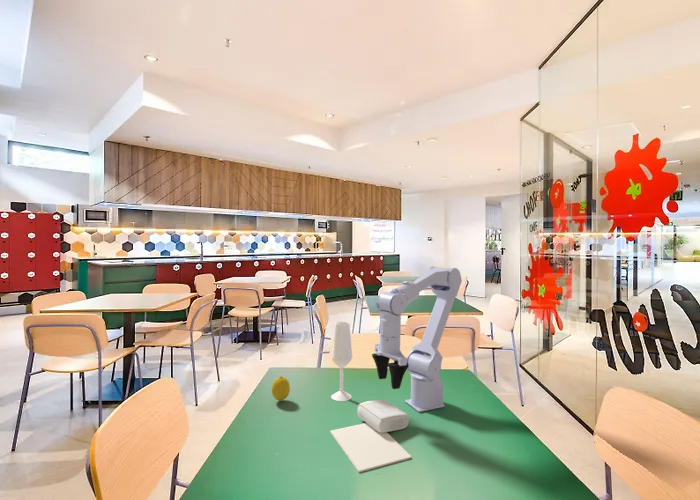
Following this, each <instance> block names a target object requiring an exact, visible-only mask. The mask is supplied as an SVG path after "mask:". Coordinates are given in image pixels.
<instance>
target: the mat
mask: <svg viewBox="0 0 700 500" xmlns="http://www.w3.org/2000/svg"><path fill="white" fill-rule="evenodd" d="M329 433H330V435H332V437H333V438H334V440H335V441H336V443H337V444H338V445H339V447H340V448H341V450H342V452H343V453H344V454H345V456H346V457H347V458H348V459H349V461H350V462H351V464H352V465H353V467H354V468H355V469H356V471H357V472H358V473H363V472H365V471H371V470H373V469H376V468H380V467H384V466H388V465H391V464H392V465H393V464H397V463H399V462H402V461H403V462H404V461H406V460H410V459H412V455H411V454H410V453H408V451H406V449H405V448H403V446H401V444H400V443H399V442H398V441H396V440H395V438H394V437H392V436H391V435H390V433H388V432H378V431H377V430H375V429H374V428H373V427H371V426H370V425H369V424H367V423H366V422H365V423H360V424H355V425H354V424H353V425H351V426H346V427H341V428H335V429H331V430H329Z"/></svg>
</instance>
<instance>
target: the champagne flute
mask: <svg viewBox="0 0 700 500" xmlns="http://www.w3.org/2000/svg"><path fill="white" fill-rule="evenodd" d="M351 339H352V337H351V326H350V322H349V321H335V323H334V328H333V339H332V348H331V360H332V362H334V364H335V365H336V366H337V367H339V390H338V391H336V392H335V393H333V394H331V396H330V398H331V399H332V400H333V401H337V402H348V401H349V400H351V399H352V395H351V394H350V393H348V392H347V391H345V390H344V367H346V366H347V365H349V363H350V362H351V361H352V359H353V353H352V352H353V351H352V340H351Z"/></svg>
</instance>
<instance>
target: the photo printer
mask: <svg viewBox="0 0 700 500" xmlns="http://www.w3.org/2000/svg"><path fill="white" fill-rule="evenodd" d="M356 413H357V416H358V417H359V418H360V419H361V420H362V421H363V422H365V423H367V424H369V425H370V426H371V427H373V428H374V429H375V430H377V431H378V432H387V433H388V432H395V431H400V430H403V429H405V428H407V427H408V425H409V423H410V417H409V415H408V413H406V412H405V411H404V410H401V409H400V408H398V407H397V406H396V405H393V404H392V403H390V402H389V401H387V400H383V399H375V400H374V399H373V400H368V401H364V402H361V403H359V404H358V405H357V406H356Z"/></svg>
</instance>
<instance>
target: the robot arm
mask: <svg viewBox="0 0 700 500" xmlns="http://www.w3.org/2000/svg"><path fill="white" fill-rule="evenodd" d="M462 282H463V279H462V275H461V272H460V270H459V269H458V268H457V267H452V268H451V267H441V266H440V267H439V266H433V265H432V266H430V267H429V268H427V269H426V270H425V272H424V273H423V274H422V275H420V277H418V278H417V279H415V280H414V281H411V280H410V281H409V280H404V281H402V284H401V285H399V286H397V287H393V288H392V289H391V290H390V291H389V292H387V291H385V292H383V293H381V294H380V295H379V296H378V298H377V301H376V302H375V305H376V308H377V310H378V316H379V319H380V321H379V322H380V323H379V324H380V325H379V328H380V329H379V343H377V344H374V352H375V353H372V354H371V356H372V359H373V361H374V363H375V367H376V370H377V376H378V379H379V380H385V379H387V376H388V370H389V374H390V381H391V383H390V384H391V385H390V386H391V388H392V389H393V390H398V389H400V388H401V385H402V381H403V378H404V375H405V373H406V371H408V373H409V374H408V375H410V398H409V399H405V403H406V404H408V405H409V406H410V407H412V408H413V409H414V410H416V411H417V412H419V413H421V412H426V411H431V410H436V409H441V408H444V407H445V404H444V383H443V380H442V378H441V376H440V373H441V370H442V362H443V359H444V358H443V356H442V354H441V352H440V351H439V350H438V348H439V345H440V342H441V339H442V336H443V334H444V331H445V328H446V325H447V322H448V319H449V317H450V313H451V311H452V308H453V305H454V303H455V298H456V297H457V296H458V293H459V291H460V288H461V285H462ZM427 288H430V289H431V291H432V293H433V295H435V296H436V300H435V303H434V305H433V308H432V311H431V313H430V314H431V315H430V317H429V320H428V322H427V325H426V328H425V330H424V332H423V336H422V339H421V341H420V342H419V343H416V344H415V345H413V346H412V348H411V350H410V351H409V353H408V355H407V356H406V357H405V356H404V354H403V352H402V351H401V328H402V327H401V324H402V323H401V322H402V321H401V320H402V314H403V313H404V312H405V310H406V308H407V306H408V305H409V304H410V303H412V302H413V301H415V300H416V299H418V298H419V297H420V292H422V291H424V290H426V289H427ZM390 360H391V361H393V362H390Z"/></svg>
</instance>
